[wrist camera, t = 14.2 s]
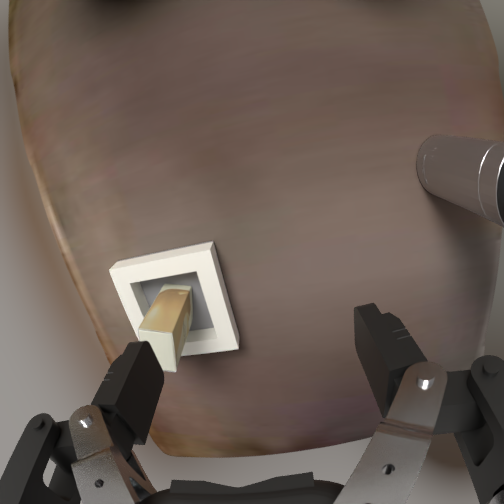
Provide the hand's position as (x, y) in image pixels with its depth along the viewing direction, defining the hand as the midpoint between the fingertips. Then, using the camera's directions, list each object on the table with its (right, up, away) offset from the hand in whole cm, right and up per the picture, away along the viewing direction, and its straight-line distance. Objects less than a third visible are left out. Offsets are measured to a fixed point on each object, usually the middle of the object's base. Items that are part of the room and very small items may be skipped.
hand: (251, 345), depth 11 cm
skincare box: (-11, -4, +33) cm, 35 cm away
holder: (-11, -4, +34) cm, 36 cm away
